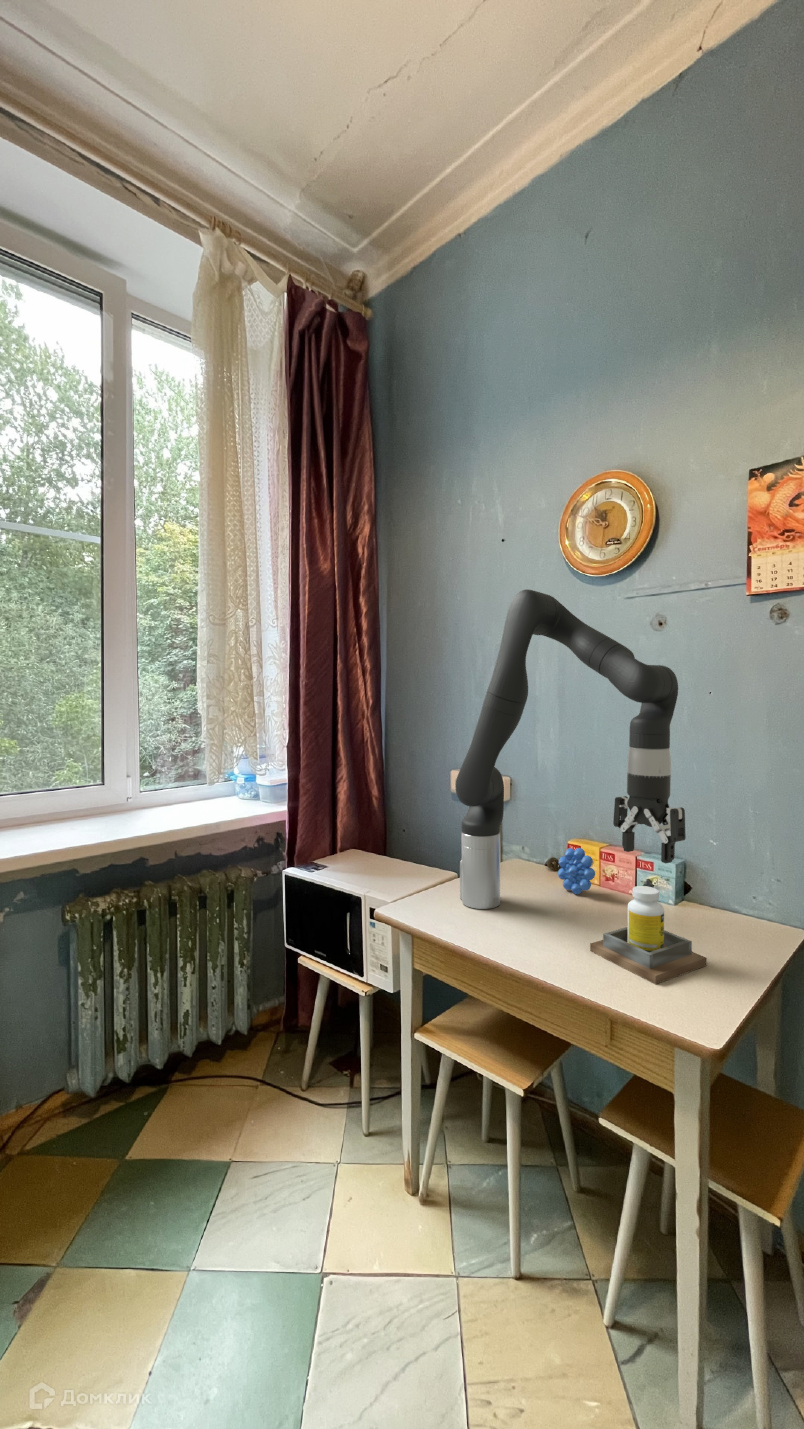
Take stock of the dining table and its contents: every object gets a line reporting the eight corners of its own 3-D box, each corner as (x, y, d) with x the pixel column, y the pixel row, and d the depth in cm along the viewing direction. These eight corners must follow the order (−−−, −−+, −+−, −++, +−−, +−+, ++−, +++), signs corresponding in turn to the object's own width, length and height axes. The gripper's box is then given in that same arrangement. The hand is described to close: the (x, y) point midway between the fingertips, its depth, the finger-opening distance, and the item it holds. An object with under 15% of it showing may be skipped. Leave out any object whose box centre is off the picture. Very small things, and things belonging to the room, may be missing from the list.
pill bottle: (661, 960, 108) (661, 898, 107) (624, 952, 111) (624, 892, 111) (666, 947, 113) (666, 887, 113) (630, 940, 117) (631, 882, 116)
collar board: (590, 950, 115) (590, 930, 115) (639, 936, 122) (639, 917, 122) (655, 984, 102) (655, 961, 102) (706, 965, 109) (706, 944, 109)
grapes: (606, 897, 144) (606, 849, 144) (587, 903, 141) (587, 853, 141) (570, 884, 155) (571, 839, 154) (551, 889, 151) (552, 843, 151)
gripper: (696, 775, 106) (694, 863, 107) (631, 765, 118) (630, 845, 119) (668, 778, 102) (666, 869, 103) (604, 768, 115) (603, 850, 116)
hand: (647, 856), depth 111 cm, fingers open, 8 cm apart
